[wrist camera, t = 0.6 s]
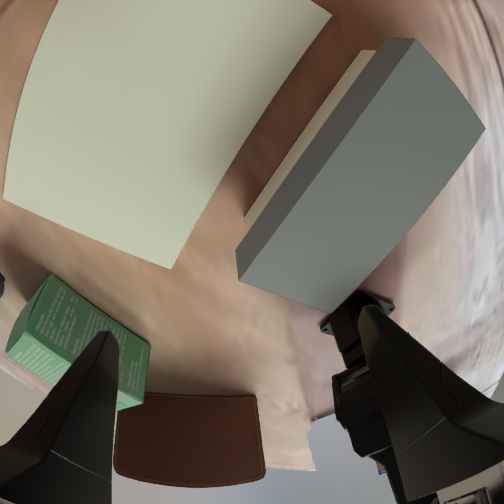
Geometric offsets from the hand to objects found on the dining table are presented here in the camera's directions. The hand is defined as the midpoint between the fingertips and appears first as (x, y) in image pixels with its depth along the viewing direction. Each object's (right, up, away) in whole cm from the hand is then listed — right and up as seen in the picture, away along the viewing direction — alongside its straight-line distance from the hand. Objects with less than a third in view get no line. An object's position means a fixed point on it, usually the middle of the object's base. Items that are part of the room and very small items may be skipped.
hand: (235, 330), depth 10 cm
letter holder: (-9, -21, +31) cm, 39 cm away
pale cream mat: (-7, +12, +6) cm, 15 cm away
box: (-17, -5, +18) cm, 25 cm away
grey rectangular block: (+7, +7, +7) cm, 12 cm away
